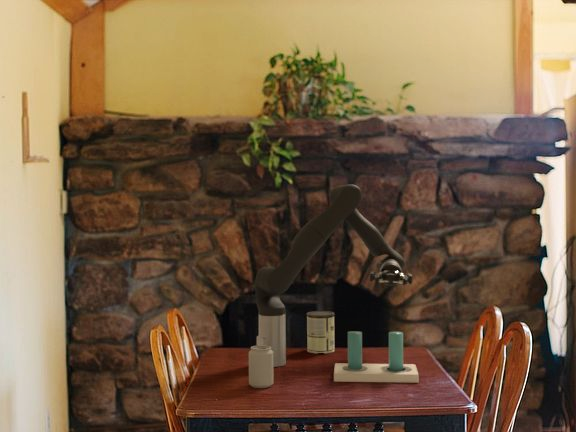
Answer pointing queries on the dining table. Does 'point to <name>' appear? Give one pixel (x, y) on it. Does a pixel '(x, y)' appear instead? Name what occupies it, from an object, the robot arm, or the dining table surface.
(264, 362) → the can
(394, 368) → the pin
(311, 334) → the coffee can
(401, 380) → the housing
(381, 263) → the robot arm
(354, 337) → the seated pin
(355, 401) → the dining table surface
